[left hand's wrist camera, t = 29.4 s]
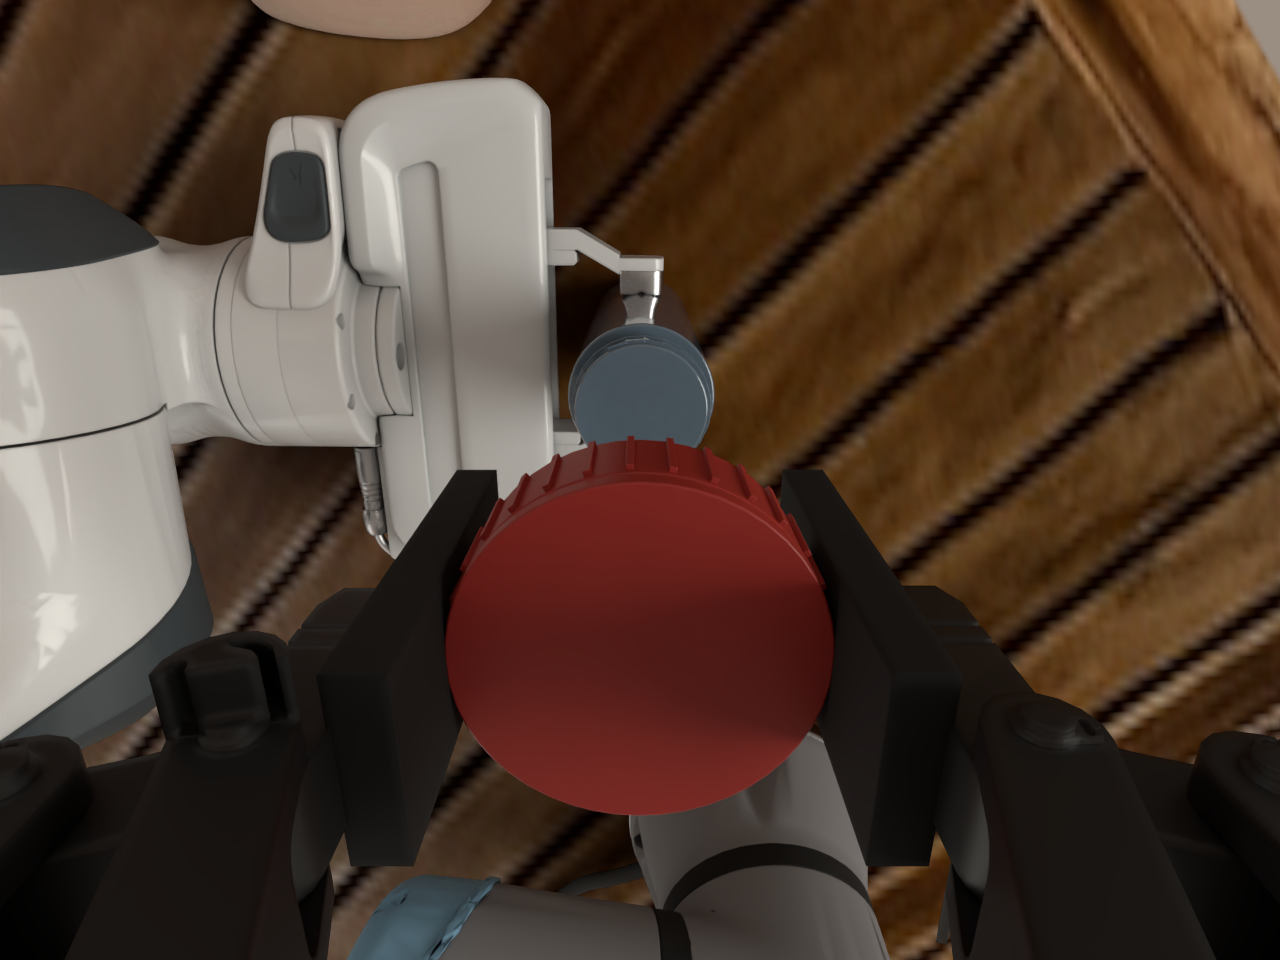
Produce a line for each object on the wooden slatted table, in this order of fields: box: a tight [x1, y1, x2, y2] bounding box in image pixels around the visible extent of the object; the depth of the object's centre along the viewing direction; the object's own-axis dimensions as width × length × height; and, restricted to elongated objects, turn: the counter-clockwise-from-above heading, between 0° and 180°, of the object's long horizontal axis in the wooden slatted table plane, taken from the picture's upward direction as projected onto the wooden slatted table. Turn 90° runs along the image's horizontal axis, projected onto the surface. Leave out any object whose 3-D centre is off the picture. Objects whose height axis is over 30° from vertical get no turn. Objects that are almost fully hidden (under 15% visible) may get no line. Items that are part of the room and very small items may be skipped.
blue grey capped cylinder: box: [568, 283, 715, 448], centre depth 30 cm, size 5×5×16 cm
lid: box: [444, 436, 835, 816], centre depth 11 cm, size 6×6×2 cm
